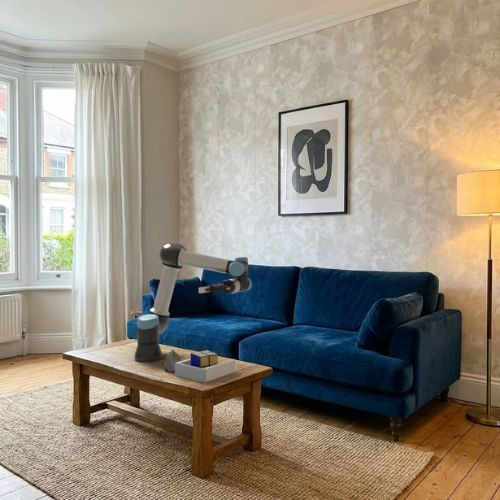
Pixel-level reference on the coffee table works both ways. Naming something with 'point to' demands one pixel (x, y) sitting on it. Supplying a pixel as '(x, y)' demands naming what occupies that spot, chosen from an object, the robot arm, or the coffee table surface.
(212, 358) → the puzzle cube
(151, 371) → the coffee table surface
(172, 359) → the mineral rock
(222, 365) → the grey storage tray
